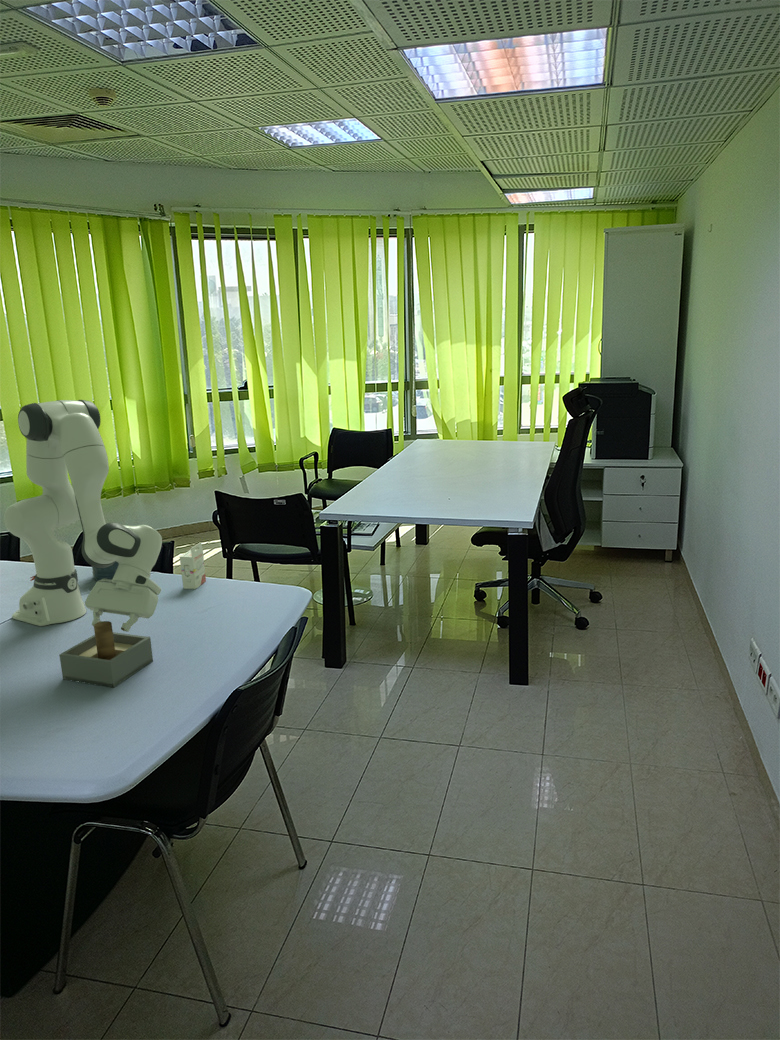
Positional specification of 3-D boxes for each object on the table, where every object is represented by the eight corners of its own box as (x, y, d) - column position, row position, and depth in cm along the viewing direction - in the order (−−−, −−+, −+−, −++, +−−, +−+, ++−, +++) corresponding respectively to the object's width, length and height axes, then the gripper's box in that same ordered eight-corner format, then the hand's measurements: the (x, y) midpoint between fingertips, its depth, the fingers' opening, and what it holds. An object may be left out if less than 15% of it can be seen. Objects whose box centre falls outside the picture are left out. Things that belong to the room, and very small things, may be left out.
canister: (86, 581, 270) (79, 534, 266) (104, 570, 283) (98, 524, 278) (120, 582, 268) (114, 535, 264) (137, 570, 281) (131, 525, 276)
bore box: (63, 679, 196) (59, 654, 194) (104, 653, 211) (101, 630, 209) (113, 687, 191) (110, 662, 189) (153, 661, 205) (150, 637, 203)
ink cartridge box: (193, 580, 269) (189, 540, 265) (206, 581, 268) (202, 541, 264) (182, 588, 261) (178, 548, 257) (195, 589, 260) (191, 548, 256)
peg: (95, 669, 199) (89, 626, 196) (107, 661, 203) (101, 620, 200) (109, 671, 198) (103, 628, 195) (120, 664, 202) (115, 622, 199)
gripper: (92, 572, 208) (71, 619, 201) (154, 580, 201) (135, 628, 195) (105, 582, 213) (85, 628, 207) (166, 590, 206) (147, 637, 200)
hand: (109, 628), depth 200 cm, fingers open, 8 cm apart
